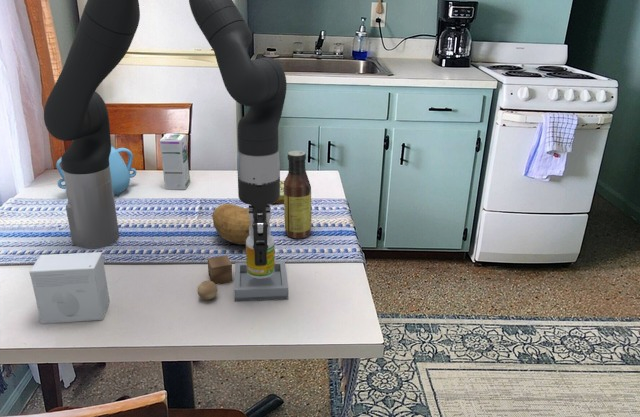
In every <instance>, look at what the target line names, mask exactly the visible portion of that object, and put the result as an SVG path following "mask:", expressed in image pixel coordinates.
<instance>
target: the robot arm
mask: <svg viewBox="0 0 640 417" xmlns="http://www.w3.org/2000/svg"><path fill="white" fill-rule="evenodd" d="M139 1H140V0H86V3H85V5H84V8H83V11H82V14H81V15H80V16H81V17H80V19H79V22H78V25H77V28H76V33H75V35H74V39H73V41H72V44H71V46H70V48H69V52H68V53H67V56H66V60H65V62H64V64H63V67H62V69H61V72H60V74H59V75H58V77H57V80H56V82H55V84H54V86H53V88H52V90H51V91H50V94H49V96H48V97H47V99H46V102H45V105H44V108H43V121H44V125H45V127H46V130H47V131H48V134H50V135H51V136H52V137H53V138H55V139H57V140H58V141H62V142H63V141H64V142H70V141H71V143H70V145H69V147H68V148H67V149H66V151H64V153H63V154H62V155H61V157H62V158H61V157H60V158H61V162H62V163H61V168H62V171H63V174H64V180H65V181H64V185H66V189H65V190H66V196H67V200H68V201H67V204H66V205H65V211H66V215H67V216H66V217H67V221H68V227H69V233H70V239H71V244H72V246H77V245H78V247H80V248H84V249H85V248H86V249H98V248H103V247H107V246H110V245H112V244H114V243H115V242H117V241H118V240H119V238H120V232H119V230H120V228H119V223H118V217H117V211H116V210H117V209H116V202H115V195H114V193H113V186H112V179H111V172H110V164H109V156H110V153H111V146H112V139H111V127H110V126H111V125H110V117H109V111H108V108H107V105H106V103H105V101H104V99H103V97H102V96H101V95H100V94H99V93H98V92H97V91H96V90H97V89H98V88H99V86H100V85H101V83H102V82H103V81H104V80H105V79H106V78H107V77H108V75H110V74H111V73H112V72H113V70H114V69H115V68H116V67H117V66H118V65H119V63H121V62H122V60H123V58H124V57H125V56H126V54H127V52H128V50H129V48H130V47H131V45H132V43H133V40H134V37H135V36H136V33H137V30H138V28H139V24H140V19H141V12H140V3H139ZM188 2H189V3H188V4H189V7H190V11H191V14H192V16H193V19H194V21H195V22H196V24H197V26H198V28H199V29H200V31H201V33H202V34H203V35H204V38H205V39H206V41H207V43H208V45H209V46H210V47H211V49H212V50H213V52H214V55H215V60H216V62H217V66H218V69H219V73H220V76H221V79H222V82H223V85H224V87H225V89H226V91H227V93H228V94H229V96H230V97H231V98H232V99H233V100H234V101H236V102H237V103H238V104H240V105H242V106H245V107H249V109H248V111H247V113H246V114H244V116H242V118H240V119H239V121H238V123H237V152H238V153H237V159H236V161H237V165H236V166H237V169H236V170H237V193H238V194H237V195H238V199H239V201H241V202H242V203H244V204H246V205H248V209H249V220H250V224H251V235H252V236H253V237H254V244H253V248H254V252H255V265H256V266H265V265H266V264H267V248H268V244H267V236H268V235H269V234H270V228H271V227H270V228H269V226H270V221H271V215H272V214H271V213H272V212H271V205H272V204H275V203H274V202H276V201H277V200H278V199H279V197H280V181H281V161H280V153H279V125H280V121H281V119H282V113H283V109H284V104H285V99H286V95H287V77H286V73H285V70H284V69H283V67H282V66H283V65H281V63H280V62H278V60H276V59H274V58H271V57H261V58H257V59H252V58H250V55H249V53H248V50H247V48H249V46H250V45H251V44H252V41H253V34H252V31H251V29H250V27H249V25H248V24H247V21H246V20H245V19H244V17H243V15H242V14H241V12H240V10H239V9H238V7H237V6H236V3H235V2H234V1H233V0H188ZM257 229H258V231H257ZM270 235H271V234H270ZM257 241H264V242H257Z"/></svg>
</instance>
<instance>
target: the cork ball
mask: <svg viewBox="0 0 640 417" xmlns="http://www.w3.org/2000/svg"><path fill="white" fill-rule="evenodd" d="M217 293H218V287H217V284H215V283H214V282H212V281H211V280H210V279H209V280H203V281H201V282H200V283H199V284H198V286H197V295H198V296H199V297H200V298H201V299H202V300H204V301H208V300H213V299H214V298H215V297H216V295H217Z"/></svg>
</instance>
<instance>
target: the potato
mask: <svg viewBox="0 0 640 417" xmlns="http://www.w3.org/2000/svg"><path fill="white" fill-rule="evenodd" d="M211 217H212V224H213V227H214V228H215V230H216V232H217V234H218V236H220V237H221V238H223V239H224V240H225V241H228V242H230V243H233V244H235V245H246V239H247V238H248V236H250V235H249V227H250V226H251V224H250V220H249V208H246V207H243V206H241V205H240V206H239V205H237V204H233V203H232V204H231V203H224V204H220V205H218V206H217V207H216V208H215V209H214V210H213V211H212V215H211Z"/></svg>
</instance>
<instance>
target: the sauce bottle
mask: <svg viewBox="0 0 640 417" xmlns="http://www.w3.org/2000/svg"><path fill="white" fill-rule="evenodd" d="M306 160H307V154H306V152H305V151H303V150H290V151H288V152H287V161H288V169H287V170H288V172H287V174H286V177H285V178H284V180H283V181H284V203H283V208H284V213H283V214H284V216H283V218H284V229H285V230H284V232H285V234H286V236H288V237H289V238H292V239H298V240H299V239H304V238H307V237H309V236H310V235H311V233H312V186H311V183H310V180H309V177H308V174H307V171H306Z"/></svg>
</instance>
